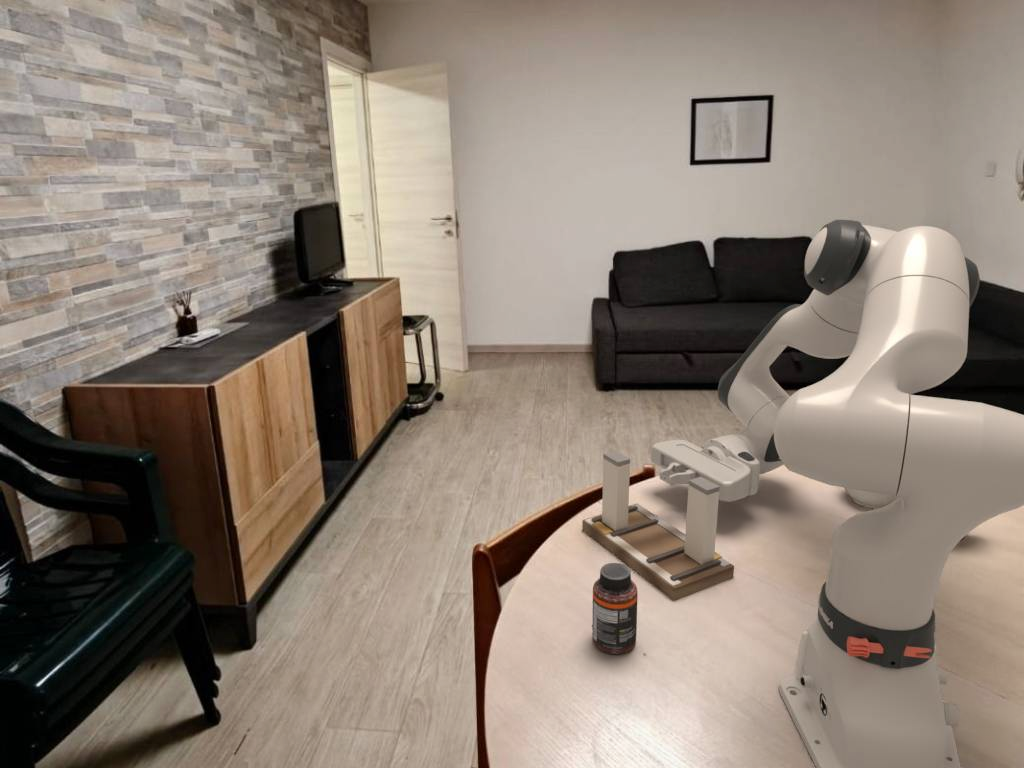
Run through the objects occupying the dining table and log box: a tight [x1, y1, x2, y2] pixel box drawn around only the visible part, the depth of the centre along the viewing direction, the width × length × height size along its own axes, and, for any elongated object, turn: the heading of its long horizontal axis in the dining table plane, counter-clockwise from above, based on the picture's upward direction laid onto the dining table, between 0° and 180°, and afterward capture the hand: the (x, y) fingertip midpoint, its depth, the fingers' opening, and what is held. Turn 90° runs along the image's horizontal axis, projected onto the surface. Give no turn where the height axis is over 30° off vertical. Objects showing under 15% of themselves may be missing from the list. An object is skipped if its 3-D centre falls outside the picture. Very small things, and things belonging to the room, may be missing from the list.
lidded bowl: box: [843, 487, 898, 510], centre depth 135 cm, size 13×13×11 cm
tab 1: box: [601, 450, 631, 531], centre depth 123 cm, size 4×2×13 cm, turn 29°
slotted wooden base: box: [581, 503, 735, 601], centre depth 120 cm, size 24×12×3 cm, turn 29°
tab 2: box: [684, 477, 720, 565], centre depth 113 cm, size 4×2×13 cm, turn 29°
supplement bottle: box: [591, 562, 639, 655], centre depth 98 cm, size 6×6×11 cm
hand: (664, 478), depth 128 cm, fingers closed
